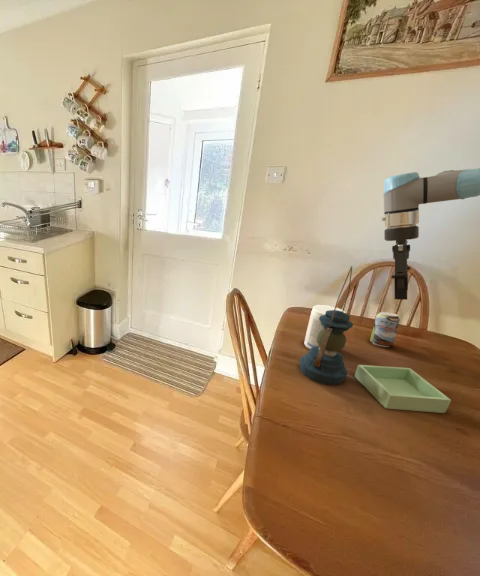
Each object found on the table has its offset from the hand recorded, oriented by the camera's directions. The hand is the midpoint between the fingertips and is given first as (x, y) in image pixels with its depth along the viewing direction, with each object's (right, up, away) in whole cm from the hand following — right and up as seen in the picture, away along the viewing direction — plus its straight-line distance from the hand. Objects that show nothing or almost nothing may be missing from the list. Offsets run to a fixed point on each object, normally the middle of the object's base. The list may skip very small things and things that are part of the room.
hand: (401, 294), depth 98 cm
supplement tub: (-17, -19, +12) cm, 29 cm away
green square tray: (-12, -28, -10) cm, 32 cm away
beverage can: (+5, -18, +13) cm, 23 cm away
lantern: (-27, -25, -2) cm, 36 cm away
